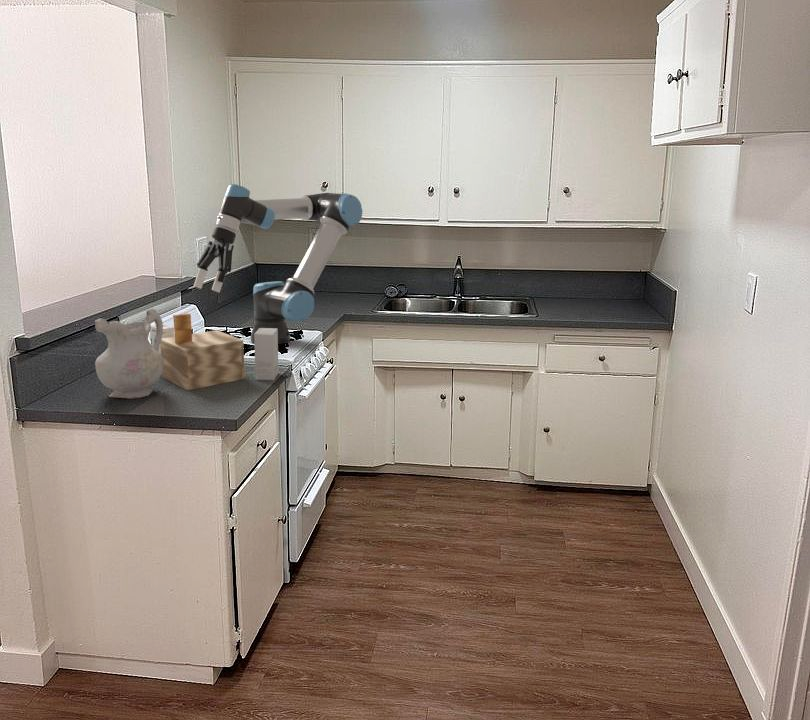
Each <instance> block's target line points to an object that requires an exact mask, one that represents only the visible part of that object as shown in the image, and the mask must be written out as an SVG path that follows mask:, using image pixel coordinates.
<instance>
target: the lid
mask: <svg viewBox="0 0 810 720" xmlns="http://www.w3.org/2000/svg"><path fill="white" fill-rule="evenodd" d="M173 328H174V337H169V338H163V339H161V342H163V343H165V344H167V345H169V346H171V347H173V348H176V349H178V350H180V351H182V352H184V353H185V352H191V351H197V350H203V349H209V348H215V347H221V346H227V345H233V344H239V343H243V344H244V340H243V339H240V338H239V337H235V336H233V335H231V334H228V333H225V332H222V331H220V330H217V329H216V330H215V329H214V330H209V331H202V332H196V333H193V330H192V316H191V313H188V312H187V313H179V314H173Z"/></svg>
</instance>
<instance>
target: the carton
mask: <svg viewBox="0 0 810 720" xmlns="http://www.w3.org/2000/svg"><path fill="white" fill-rule="evenodd" d="M160 347H161V355H162V357H163V360H164V370H163V373H162V378H163V379H165V380H167V381H169V382H171V383H173V384H174V385H177V386H178V387H179V388H182V389H184V390H186V391H192V390H196V389H201V388H206V387H211V386H216V385H221V384H226V383H231V382H236V381H240V380H241V381H242V380H246V373H245V371H246V370H245V354H244V353H245V352H244V351H245V350H244V342H243V343H239V344H233V345H227V346H221V347H215V348H209V349H203V350H197V351H191V352H185V353H184V352H182V351H180V350H178V349H176V348H173V347H171V346H169V345H167V344H165V343H163V342H160Z"/></svg>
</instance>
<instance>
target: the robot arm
mask: <svg viewBox="0 0 810 720" xmlns="http://www.w3.org/2000/svg"><path fill="white" fill-rule="evenodd" d="M250 194H251V191H250V190H249V189H248V188H247V187H246V186H242V185H239V184H234V183H231V184H229V185H228V186H227V189H226V191H225V194H224V197H223V200H222V204H221V207H220V210H219V212H218V215H217V216H216V223H215V225H216V226H215V227H214V228H213V230H212V234H211V237H212V238H213V239H214V241H213V242H212V241H208V242H207V243H208V244H207V245H206V248H205V249H204V252H203V253H202V255H201V257H200V258H199V260H198V261H197V264H196V266H197V267H198V271H197V275H196V277H195V280H194V284H193V287H194V288H197V289H199V290H202V288H203V285H204V282H205V279H206V276H207V272H209V271H208V268H209V267H210V266H211V264H212V263H213V262H214V261H215V259H216V258H218V269H217V273H216V275H215V278H214V281H213V284H212V286H211V290H212V291H214V292H216V293H220V292H221V290H222V286H223V283H224V281H225V278H226V275H227V274H228V273H230V272H231V270H232V262H233V252H234V248H235V246H234V243H235V240H236V237H237V234H236V233H238V232H239V231H238V230H239V228H240V225H241V223H242V224H247V225H254V226H256V227H258V228H261V229H263V230H264V229H265V230H266V229H270V227H271V226H272V225H273V223H274V221H277V220H291V219H292V220H294V219H295V220H296V219H301V220H302V221H312V222H320V226H319V227H318V230H317V232H316V233H315V235H314V237H313V239H312V241H311V243H310V245H309V247H308V248H307V250H306V252H305V254H304V256H303V257H302V260H301V261H300V263H299V264H298V267H297V269H296V271H295V272H294V274H293V276H292V277H290V278H287V279H286V281H285V282H284V281H282V280H281V281H267V282H259V283H255V284H254V286H253V288H252V289H253V290H252V291H253V292H252V297H253V310H254V311H253V317H254V322H253V323H254V324H253V327H252V331H251V335H250V342H251V343H252V344H254V345H255V343H254V334H255V333H256V331H257V330H258V329H259V328H277V329H278V344H279V345H282V344H281V343H284V344H286V342H287V343H289V342H290V341H291V334H290V331H289V328H288V326H287V323H286V320H287V321H289V322H302V321H305V320H307V319H308V318H309V317H310V316H311V315H312V313H313V312H314V310H315V298H314V296H315V291H314V289H315V285H316V284H317V282H318V281H319V278H320V276H321V274H322V272H323V270H324V269H325V267H326V265H327V263H328V261H329V259H330V257H331V256H332V253H333V252H334V249H335V248H336V245H337V244H338V242H339V240H340V238H341V237H342V236H343V235H344V236H345V235H346V234H348V232H349V230H350V228H351V227H353V226H356V225H358V224H359V223H360V222H361V220H362V217H363V208H362V206H363V205H362V203H361V201H360V200H359V198H358V197H356V196H355V195H354V194H349V193H334V192H321V193H314V194H308V195H307V194H306V195H301V196H299V197H298V198H276V199H275V198H274V199H271V198H270V199H253V198H251V197H250V196H251V195H250Z"/></svg>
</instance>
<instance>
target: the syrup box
mask: <svg viewBox="0 0 810 720" xmlns="http://www.w3.org/2000/svg"><path fill="white" fill-rule="evenodd" d="M155 335H156V325H155V326H151V329H150V332H149V336H150V337H149V338H150V346H151V347H152V348H153V344H154V338H155ZM169 337H175V332H174V326H171V325H168V324H163V332H162V339H163V338H169ZM158 350H159V353H160V354H161V347H160V344H159V349H158Z"/></svg>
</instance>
